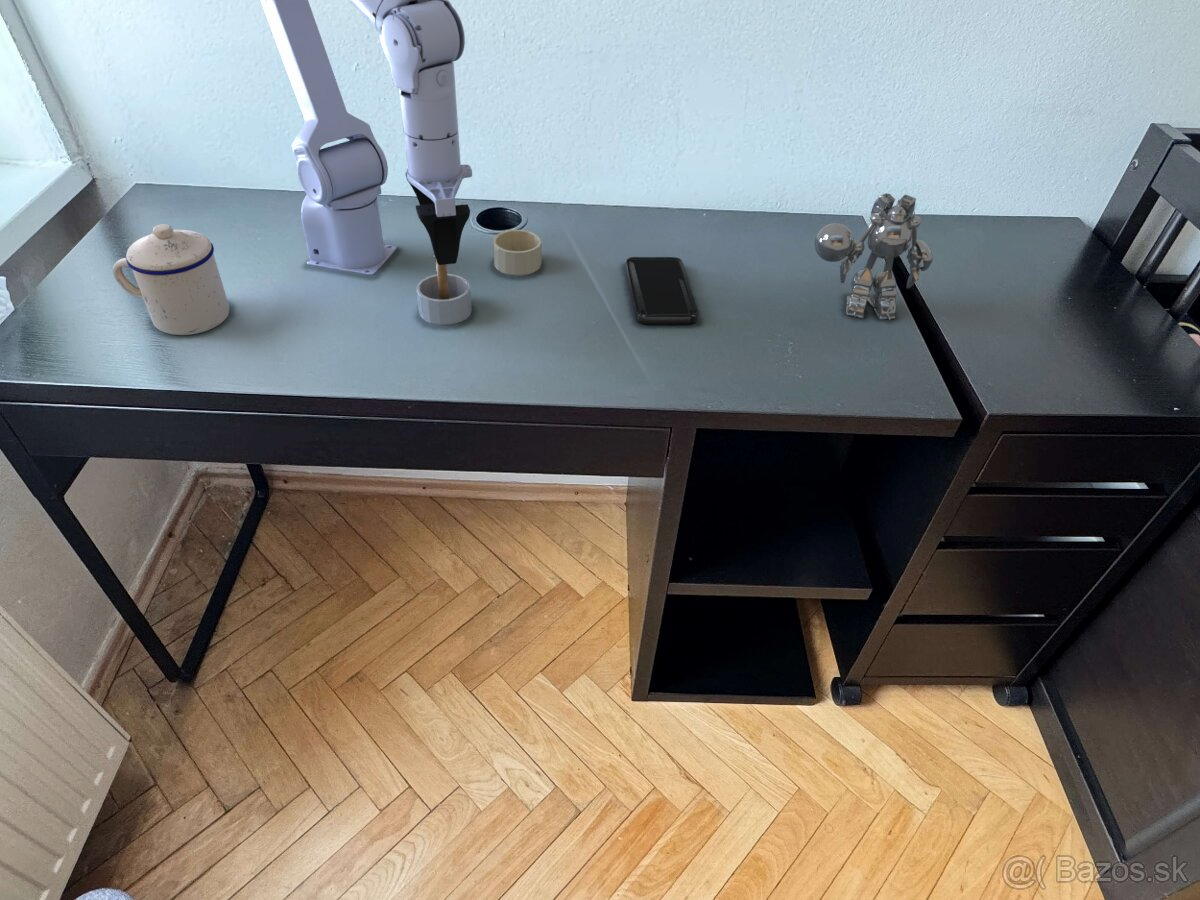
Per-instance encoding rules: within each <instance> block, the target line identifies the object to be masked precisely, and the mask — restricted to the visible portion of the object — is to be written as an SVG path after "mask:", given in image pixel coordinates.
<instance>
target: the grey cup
mask: <svg viewBox="0 0 1200 900" xmlns="http://www.w3.org/2000/svg"><path fill="white" fill-rule="evenodd" d="M447 277H448V289H449V298H450V297H456V298H452V299H445V300H438V299H439V289H438V279H437V273H436V274H432V275H428V276H426V277H424V278H422V279H421V280H420V281H419V282H418V283H417V284H416V299H417V306H418V307H417V308H418V314H419V316H420V318H422V320H423V321H425V322H427V323H429V324H432V325H437V326H450V325H457V324H458V323H461V322H463V321H465V320H467V319H468V318H469V317H470V316H471V314H472V312H473V309H472V297H471V296H472V295H471V284H470V282H469V281H468V280H467V279H466V278H465V277H462V276H460V275H458V274H454V273H453V274H452V273H447Z"/></svg>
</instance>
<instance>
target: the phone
mask: <svg viewBox="0 0 1200 900" xmlns="http://www.w3.org/2000/svg"><path fill="white" fill-rule="evenodd" d="M625 263H626V264H625V270H626V275H627V276H626V277H627V280H628V285H629V291H630V295H631V300H632V306H633V310H634V315H635V319H636V322H638V323H639V324H641V325H694V324H696V323H697V321H698V317H699V310H698V307H697V303H696V300H695V298H694V294H693V291H692V288H691V285H690V281H689V278H688V275H687V272H686V268H685V265H684V262H683V260H682V259H681V258H680V257H676V256H675V257H674V256H630V257H628V258H626V262H625Z"/></svg>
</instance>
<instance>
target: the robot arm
mask: <svg viewBox="0 0 1200 900" xmlns="http://www.w3.org/2000/svg"><path fill="white" fill-rule="evenodd" d="M259 1H260V4H261V7H262V9H263V12H264V15H265V17H266V20H267V23H268V26H269V28H270V31H271V33H272V36H273V39H274V41H275V44H276V47H277V49H278V52H279V55H280V58H281V61H282V63H283V66H284V69H285V72H286V74H287V76H288V79H289V82H290V84H291V87H292V90H293V92H294V95H295V98H296V101H297V104H298V107H299V109H300V111H301V114H302V116H303V119H304V123H303V125H302V127H301V128H300V130H299V132H298V134H297V135H296V137H295V138H294V140H293V142H292V144H291V149H292V153H293V156H294V159H295V163H296V172H297V177H298V179H299V183H300V185H301V187H302V189H303V191H304V192H305V194H306V195H305V196H304V199H303V201H302V204H301V209H300V216H301V224H302V230H303V234H304V239H305V243H306V249H307V253H308V257H309V258H308V259H309V260H308V261H307V262H306V264H307V265H309V266H312V267H313V266H314V267H320V268H324V269H325V268H326V269H331V270H338V271H342V272H343V271H344V272H349V273H355V274H361V275H367V276H373V275H375V274H376V273H377V272H378V270H379V269H380V268H381V267H382V266H383V265H384V264H385V263H386V261H387V260H388V259H389V258H390V257H391V256H392V255H393V254H394V253H395V251H396V250H397V249H398V248H397V246H395V245H390V244H385V243H384V237H383V230H382V223H381V215H380V209H379V203H378V196H380V195H381V194H382V186H383V185H384V184H385V183H386V182H387V179H388V175H389V166H388V160H387V157H386V154H385V152H384V150H383V149H382V147H381V146H380V144H379V143H378V141H377V140H376V137H375V136H374V133H373V131H372V128H371V126H370V124H369V123H368V122H366V121H364V120H362V119H361V118H358V117H357V116H354V115H353V114H351V113H349V112H348V111H347V107H346V105H345V102H344V99H343V96H342V93H341V91H340V88H339V85H338V82H337V79H336V76H335V72H334V70H333V68H332V64H331V62H330V58H329V57H328V54H327V51H326V48H325V45H324V42H323V38H322V36H321V34H320V33H321V32H320V30H319V27H318V24H317V22H316V18H315V16H314V13H313V11H312V8H311V4H310V2H309V0H259ZM349 2H350V3H352V5H353V6H354V7H355V8H356V9H357V10H358V12H360V13H361V15H362V16H363V17H364V18H365V19H366V20H367V21H368V23H370V25H371V26H372V27H373V28H374V29H375V30H376V31H377V32H378V33H379V41H380V46H381V48H382V51H383V54H384V56H385V58H386V60H387V62H388V64H389V68H390V73H391V80H392V81H393V83H394V84H393V85H394V86H395V88H396V89H397V88H398V95H399V101H400V102H399V103H400V113H401V119H402V128H403V138H404V147H405V157H406V165H407V169H406V170H405V178H406V181H407V183H408V184H409V185H410V187H411V188H412V190H413V192H414V194H415V196H416V199H417V201H418V204H416V205H415V207H414V208H415V211H416V215H417V218H418V219H419V220H420V223H422V225H423V226H424V228H425V230H426V232H427V234H428V236H429V241H430V243H431V247H432V251H433V254H434V258H435V261H436V260H437V263H438V265H446V266H447V265H453V264H457V262H458V259H459V258H458V257H459V251H460V243H461V238H462V234H463V231H464V228H465V225H466V224H467V222H468V220H469V219H470V216H471V209H470V205H469V204H468V203H467V204H457V205H456V196H457V193H458V191H459V189H460V186H461V184H462V182H463V180H464V179H467V178H468V179H469V178H472V177H473V169H472V167H471V165H469V164H462V163H461V162H462V161H461V150H460V149H461V147H460V136H459V135H460V134H459V121H458V105H457V92H456V91H457V90H456V76H455V62H457V61H458V60H459V59H461V57H462V55H463V53H464V50H465V45H466V36H465V29H464V25H463V22H462V20H461V17H460V15H459V13H458V12H457V10H456V8H454V7H453V5H452V3H451V2H450V0H349ZM344 139H346V140H347V141H343V142H340V143H336V144H333V145H330V146H327V147H323V146H325V145H326V144H330V143H333V142H336V141H340V140H344ZM322 147H323V148H322Z"/></svg>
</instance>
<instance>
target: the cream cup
mask: <svg viewBox="0 0 1200 900" xmlns="http://www.w3.org/2000/svg"><path fill="white" fill-rule="evenodd" d="M492 247H493V248H492V249H493V250H492V251H493V265H494V267H495V269H497V270H498V271H499V272H501V273H502V274H506V275H510V276H527V275H530V274H534V273H536V272H537V271H539V269H540V268H541V266H542V265H543V262H542V261H543V260H542V259H543V256H542V255H543V254H542V253H543V252H542V251H543V248H542V247H543V244H542V238H541V237H540V235H538V234H537V233H535V232H533V231H530V230H525V229H509V230H504V231H501V232H499V233H498V234H496V235H495V236H494V237H493V239H492Z"/></svg>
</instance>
